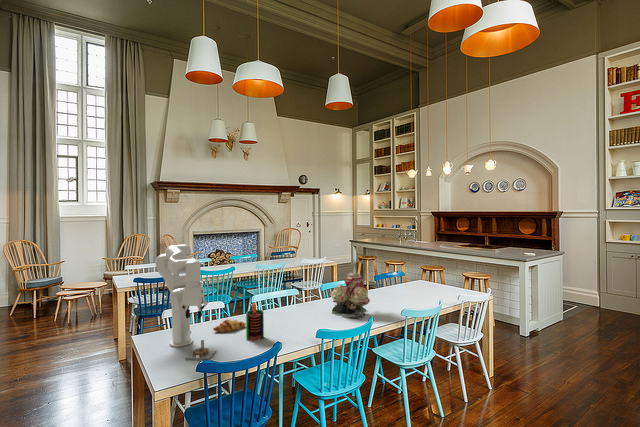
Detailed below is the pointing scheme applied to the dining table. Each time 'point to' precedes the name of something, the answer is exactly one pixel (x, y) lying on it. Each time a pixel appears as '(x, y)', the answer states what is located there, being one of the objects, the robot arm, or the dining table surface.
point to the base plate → (208, 356)
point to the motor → (254, 324)
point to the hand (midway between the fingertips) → (193, 317)
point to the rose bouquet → (350, 297)
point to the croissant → (229, 326)
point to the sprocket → (201, 350)
